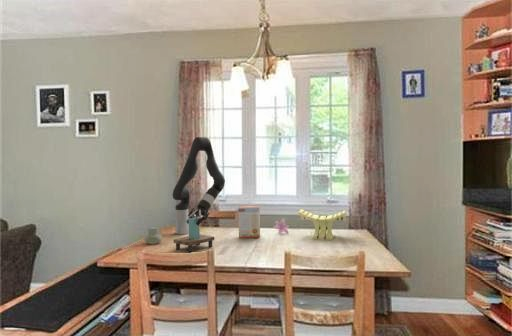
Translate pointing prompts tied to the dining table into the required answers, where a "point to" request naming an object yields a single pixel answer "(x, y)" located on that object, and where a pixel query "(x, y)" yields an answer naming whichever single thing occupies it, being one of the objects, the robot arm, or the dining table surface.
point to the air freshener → (153, 236)
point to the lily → (281, 226)
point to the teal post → (193, 228)
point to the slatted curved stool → (322, 223)
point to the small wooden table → (193, 241)
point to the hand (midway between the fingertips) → (192, 223)
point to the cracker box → (249, 221)
